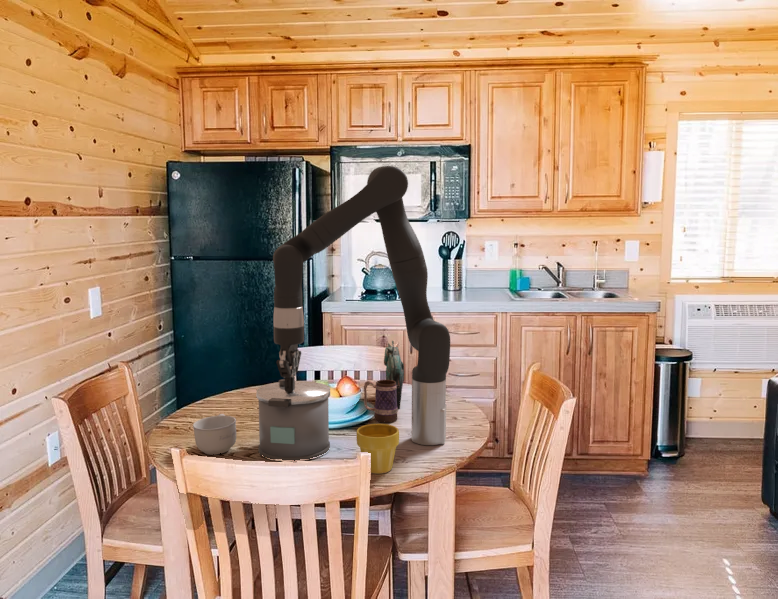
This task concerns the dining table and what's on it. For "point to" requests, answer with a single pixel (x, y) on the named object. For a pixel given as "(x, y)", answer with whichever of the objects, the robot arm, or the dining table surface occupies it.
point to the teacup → (215, 434)
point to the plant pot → (379, 445)
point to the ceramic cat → (394, 369)
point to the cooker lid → (292, 393)
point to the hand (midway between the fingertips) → (289, 391)
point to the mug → (383, 400)
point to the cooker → (294, 430)
